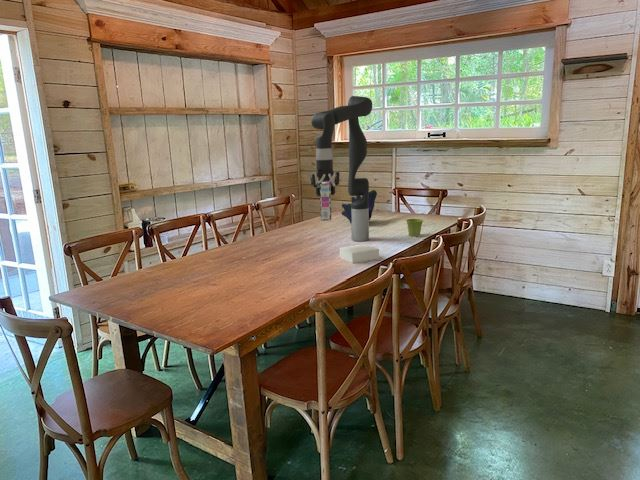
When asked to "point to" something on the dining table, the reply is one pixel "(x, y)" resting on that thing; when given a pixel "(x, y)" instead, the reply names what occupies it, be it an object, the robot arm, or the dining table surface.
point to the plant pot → (414, 226)
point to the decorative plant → (347, 207)
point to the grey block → (359, 253)
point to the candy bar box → (325, 201)
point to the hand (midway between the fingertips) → (325, 195)
